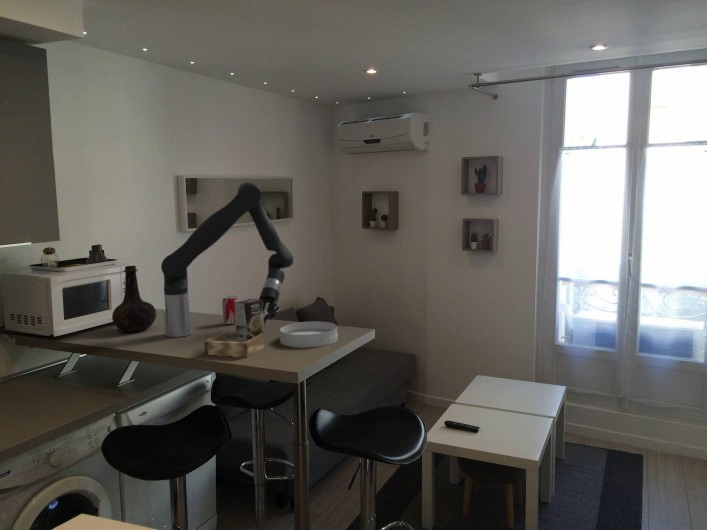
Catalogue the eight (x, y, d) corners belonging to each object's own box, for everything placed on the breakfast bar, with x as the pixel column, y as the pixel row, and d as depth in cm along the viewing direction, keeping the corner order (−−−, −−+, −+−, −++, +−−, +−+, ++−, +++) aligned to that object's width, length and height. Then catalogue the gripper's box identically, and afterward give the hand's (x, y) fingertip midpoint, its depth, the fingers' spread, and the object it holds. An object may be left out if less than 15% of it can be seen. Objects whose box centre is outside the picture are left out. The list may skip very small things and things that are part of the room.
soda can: (235, 325, 242) (234, 298, 241) (220, 325, 244) (218, 298, 242) (242, 321, 249) (240, 295, 248) (227, 321, 251) (225, 295, 249)
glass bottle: (132, 336, 229) (126, 269, 225) (104, 332, 238) (98, 267, 234) (166, 327, 244) (161, 263, 241) (138, 324, 253) (133, 262, 250)
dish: (328, 331, 227) (327, 319, 226) (346, 343, 206) (345, 330, 206) (274, 337, 220) (273, 325, 219) (287, 351, 199) (286, 337, 198)
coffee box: (249, 346, 207) (246, 303, 205) (236, 344, 210) (233, 302, 208) (265, 340, 214) (263, 299, 212) (252, 338, 218) (250, 298, 216)
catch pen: (205, 355, 196) (204, 341, 196) (223, 345, 209) (223, 332, 208) (247, 357, 192) (246, 343, 191) (263, 347, 204) (263, 334, 204)
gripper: (253, 286, 229) (241, 322, 219) (283, 286, 225) (271, 322, 215) (259, 296, 234) (247, 332, 224) (288, 297, 231) (278, 333, 221)
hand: (259, 327), depth 220 cm, fingers closed
